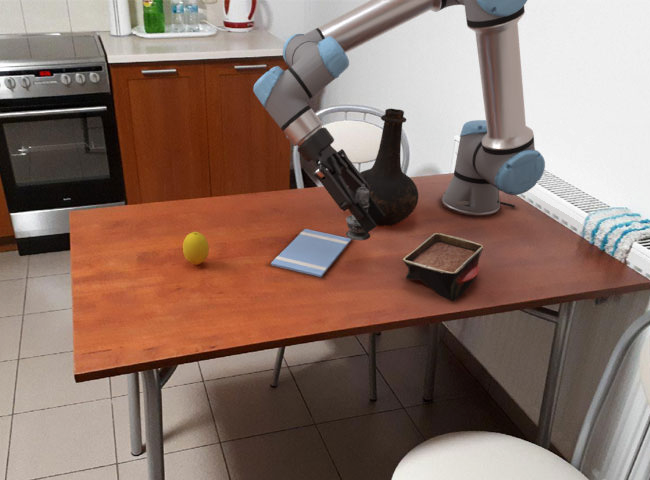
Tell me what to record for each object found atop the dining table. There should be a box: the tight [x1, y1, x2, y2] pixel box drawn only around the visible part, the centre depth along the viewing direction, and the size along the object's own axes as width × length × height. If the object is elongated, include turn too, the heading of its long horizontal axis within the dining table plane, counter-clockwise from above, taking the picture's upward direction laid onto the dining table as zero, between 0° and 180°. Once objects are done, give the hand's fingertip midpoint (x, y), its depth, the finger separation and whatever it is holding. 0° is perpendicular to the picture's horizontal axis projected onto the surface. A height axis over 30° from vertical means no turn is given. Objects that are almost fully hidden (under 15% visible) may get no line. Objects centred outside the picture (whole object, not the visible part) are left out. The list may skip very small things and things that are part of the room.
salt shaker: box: [345, 183, 371, 241], centre depth 137 cm, size 6×6×12 cm
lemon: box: [182, 231, 210, 266], centre depth 138 cm, size 6×6×8 cm
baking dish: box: [402, 232, 484, 302], centre depth 136 cm, size 14×18×10 cm
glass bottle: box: [347, 108, 419, 227], centre depth 157 cm, size 18×18×28 cm
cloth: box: [270, 228, 352, 278], centre depth 147 cm, size 12×20×1 cm, turn 156°
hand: (376, 224), depth 137 cm, fingers closed on salt shaker, 5 cm apart
